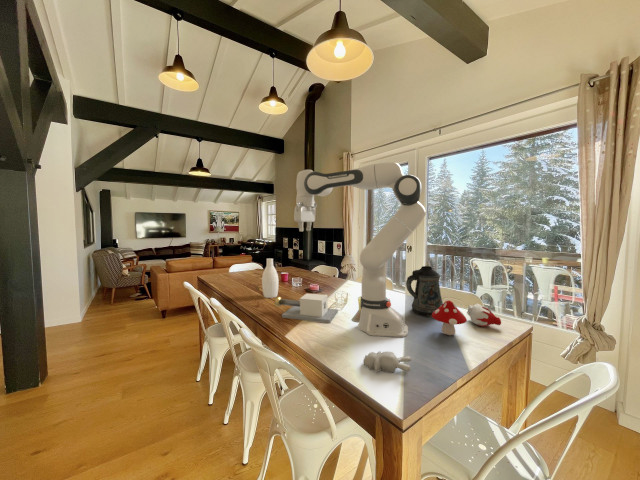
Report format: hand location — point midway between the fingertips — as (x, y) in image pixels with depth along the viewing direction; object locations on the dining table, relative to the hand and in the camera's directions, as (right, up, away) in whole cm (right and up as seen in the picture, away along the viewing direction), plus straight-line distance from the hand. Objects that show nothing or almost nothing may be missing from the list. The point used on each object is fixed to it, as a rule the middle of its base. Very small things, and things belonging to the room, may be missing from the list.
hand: (305, 231), depth 127 cm
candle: (+85, -45, -6) cm, 96 cm away
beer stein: (+65, -44, +10) cm, 79 cm away
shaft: (-8, -42, +12) cm, 44 cm away
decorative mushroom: (+64, -46, -16) cm, 80 cm away
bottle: (-26, -43, +44) cm, 67 cm away
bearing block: (+2, -45, +9) cm, 45 cm away
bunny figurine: (+30, -48, -42) cm, 70 cm away
